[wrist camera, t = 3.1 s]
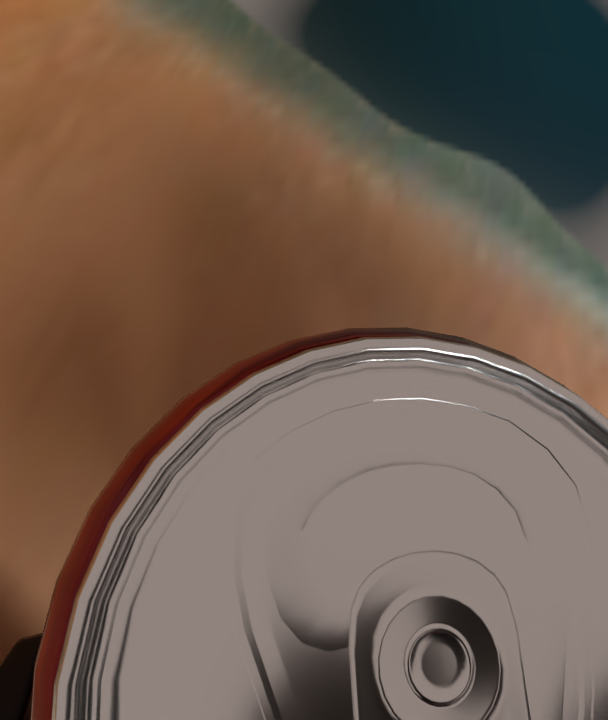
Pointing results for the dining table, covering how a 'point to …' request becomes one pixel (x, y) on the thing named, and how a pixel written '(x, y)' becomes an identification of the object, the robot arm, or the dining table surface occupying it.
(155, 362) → the dining table surface
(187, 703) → the soda can
